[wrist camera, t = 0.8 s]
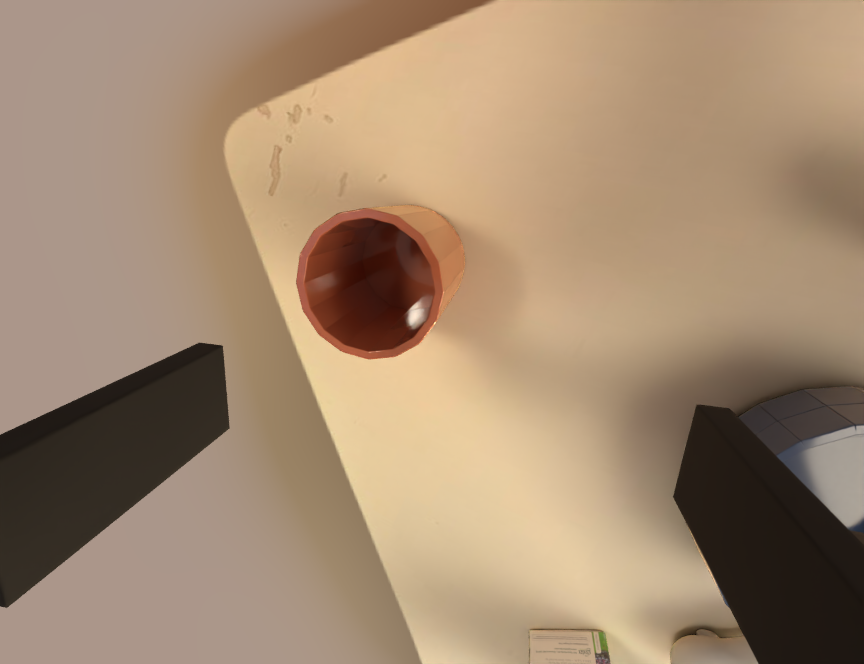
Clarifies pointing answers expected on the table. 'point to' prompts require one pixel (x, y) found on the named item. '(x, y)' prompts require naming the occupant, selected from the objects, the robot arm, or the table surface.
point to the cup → (379, 278)
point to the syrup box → (568, 647)
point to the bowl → (817, 446)
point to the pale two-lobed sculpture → (711, 650)
